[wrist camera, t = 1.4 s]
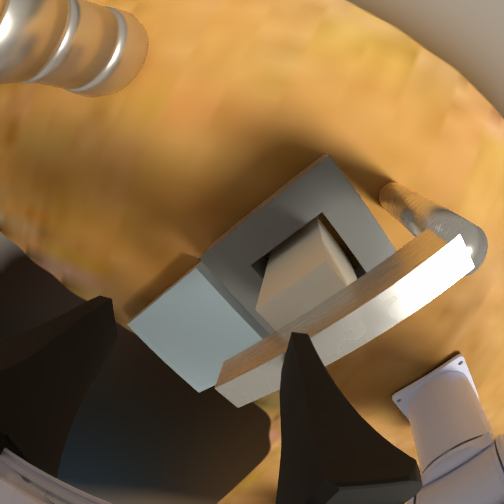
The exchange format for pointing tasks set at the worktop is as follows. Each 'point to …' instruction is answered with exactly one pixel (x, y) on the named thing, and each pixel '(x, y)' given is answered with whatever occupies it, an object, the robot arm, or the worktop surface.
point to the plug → (302, 274)
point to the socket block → (288, 222)
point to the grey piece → (368, 295)
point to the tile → (197, 327)
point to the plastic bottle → (70, 45)
